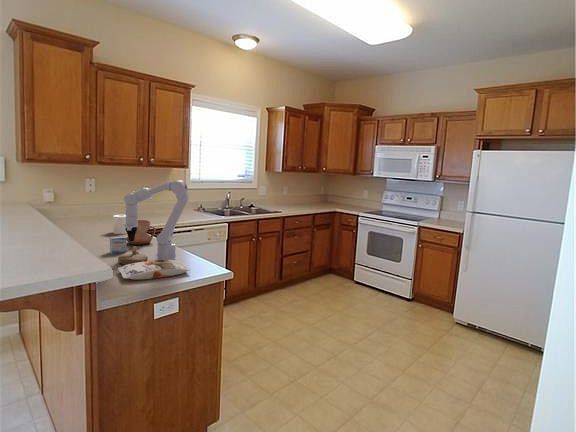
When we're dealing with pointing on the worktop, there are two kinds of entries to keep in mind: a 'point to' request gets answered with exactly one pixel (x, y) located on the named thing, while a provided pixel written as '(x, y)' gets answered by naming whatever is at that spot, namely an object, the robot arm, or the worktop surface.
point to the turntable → (132, 257)
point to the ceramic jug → (142, 233)
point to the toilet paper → (119, 224)
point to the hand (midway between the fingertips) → (131, 241)
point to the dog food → (153, 269)
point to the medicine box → (117, 245)
